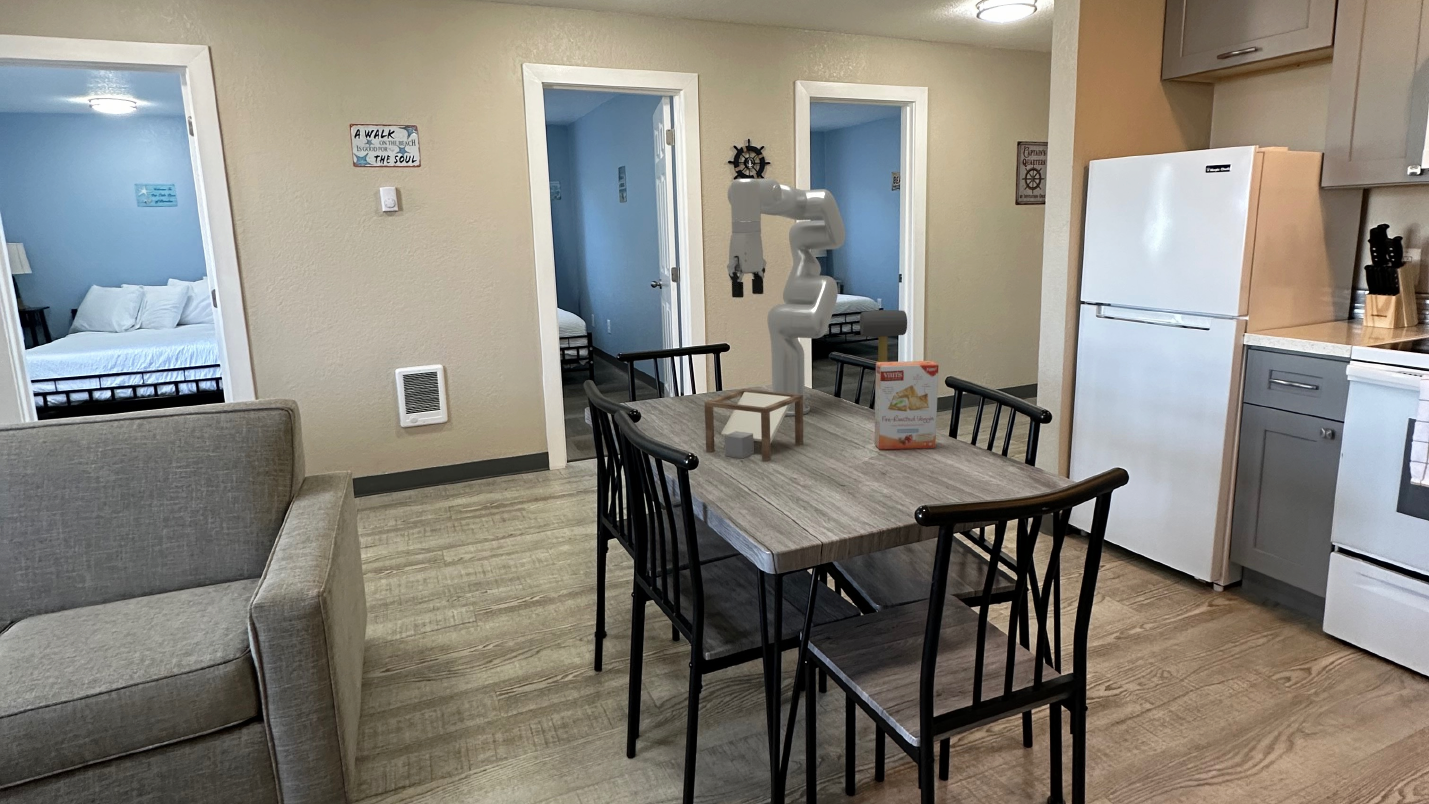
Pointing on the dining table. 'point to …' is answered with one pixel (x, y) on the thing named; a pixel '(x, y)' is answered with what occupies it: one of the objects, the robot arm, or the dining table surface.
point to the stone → (739, 444)
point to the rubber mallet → (883, 327)
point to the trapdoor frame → (763, 410)
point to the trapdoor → (756, 415)
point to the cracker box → (906, 404)
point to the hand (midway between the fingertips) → (748, 295)
